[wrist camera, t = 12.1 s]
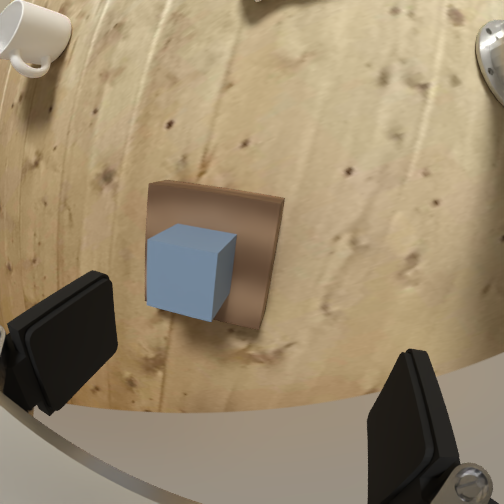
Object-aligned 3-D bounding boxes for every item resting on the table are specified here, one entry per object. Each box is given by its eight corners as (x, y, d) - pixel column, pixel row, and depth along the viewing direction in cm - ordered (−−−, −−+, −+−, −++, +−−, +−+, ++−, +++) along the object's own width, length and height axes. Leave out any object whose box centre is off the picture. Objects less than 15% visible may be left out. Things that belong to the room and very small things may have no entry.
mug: (79, 66, 31) (23, 53, 21) (41, 96, 33) (-13, 92, 23) (71, 6, 28) (24, -13, 18) (35, 36, 30) (-12, 26, 20)
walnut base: (166, 180, 33) (148, 183, 29) (284, 198, 31) (280, 203, 27) (160, 287, 37) (144, 300, 33) (264, 312, 35) (258, 329, 31)
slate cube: (177, 223, 30) (147, 239, 24) (237, 234, 29) (217, 253, 23) (174, 279, 32) (146, 305, 26) (229, 292, 31) (211, 321, 25)
